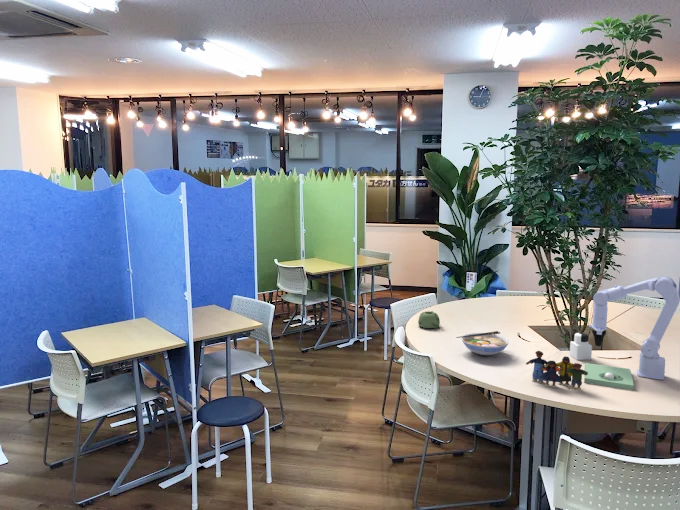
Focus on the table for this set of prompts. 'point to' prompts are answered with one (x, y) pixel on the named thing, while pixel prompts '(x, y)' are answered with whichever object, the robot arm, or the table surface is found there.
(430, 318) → the green dome
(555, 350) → the table surface
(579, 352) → the medicine bottle
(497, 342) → the ramen bowl
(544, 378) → the doll family
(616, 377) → the deck
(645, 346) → the robot arm
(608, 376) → the ball
